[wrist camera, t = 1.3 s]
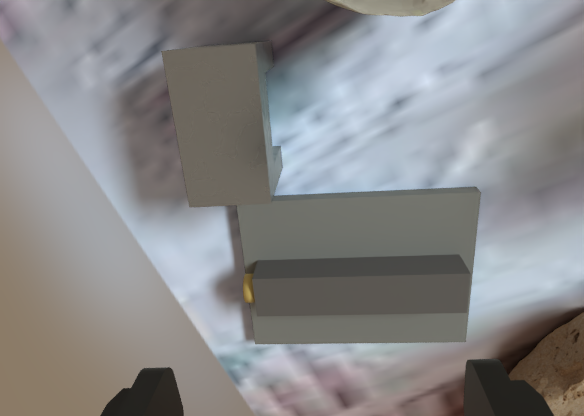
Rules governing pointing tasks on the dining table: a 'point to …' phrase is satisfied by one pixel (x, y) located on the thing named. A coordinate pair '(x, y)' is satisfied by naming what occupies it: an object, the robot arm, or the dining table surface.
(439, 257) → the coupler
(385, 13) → the teacup
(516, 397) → the robot arm
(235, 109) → the grey arch block
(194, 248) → the dining table surface
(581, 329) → the stone
